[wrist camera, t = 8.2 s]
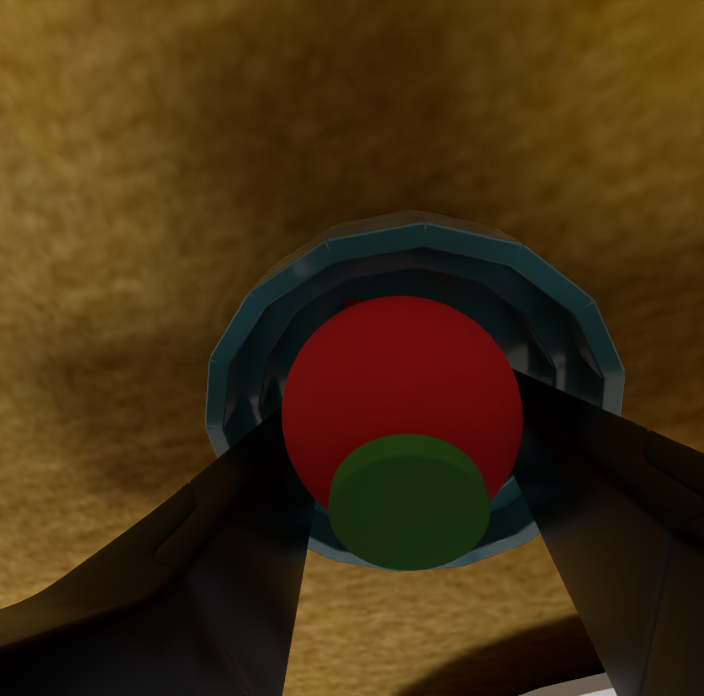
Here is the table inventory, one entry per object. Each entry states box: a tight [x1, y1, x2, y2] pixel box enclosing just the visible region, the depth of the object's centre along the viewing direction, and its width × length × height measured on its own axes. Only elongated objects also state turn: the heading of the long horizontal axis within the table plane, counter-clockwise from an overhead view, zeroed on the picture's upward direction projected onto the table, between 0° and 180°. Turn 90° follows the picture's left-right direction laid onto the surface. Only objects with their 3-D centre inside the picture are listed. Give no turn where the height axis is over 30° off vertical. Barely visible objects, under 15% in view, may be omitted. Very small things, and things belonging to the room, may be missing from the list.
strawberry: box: [282, 296, 523, 571], centre depth 7 cm, size 4×4×4 cm
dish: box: [205, 209, 626, 572], centre depth 9 cm, size 8×8×2 cm
